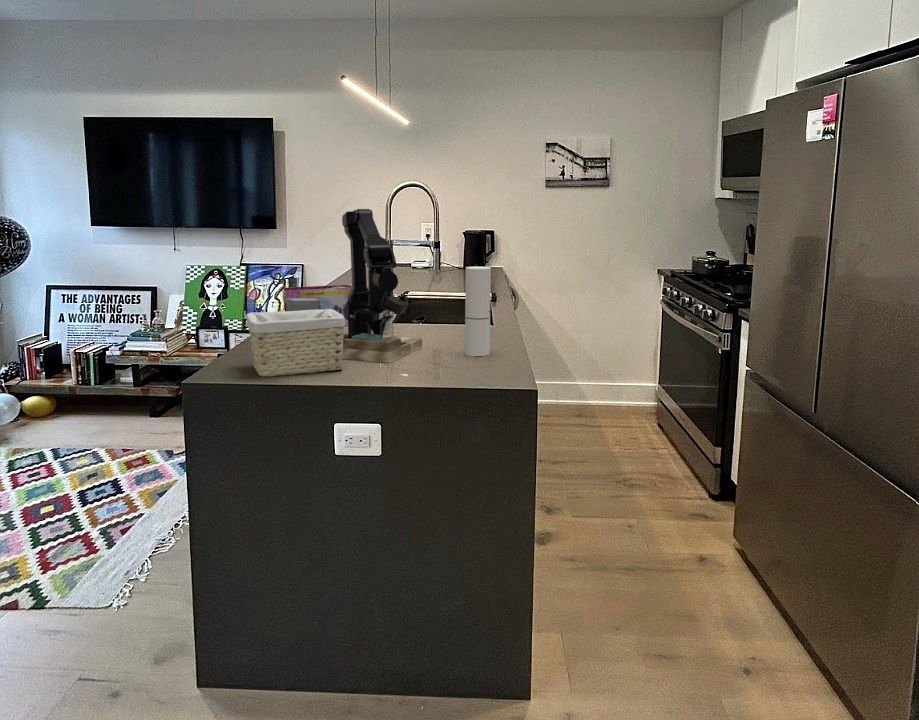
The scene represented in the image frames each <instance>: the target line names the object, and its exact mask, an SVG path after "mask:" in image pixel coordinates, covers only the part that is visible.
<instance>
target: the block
mask: <svg viewBox="0 0 919 720" xmlns="http://www.w3.org/2000/svg"><path fill="white" fill-rule="evenodd" d="M352 339H354V340H366V341H378V342H381V335H377V334H373V333H371V334H367V333H362V334H359V335H355V336H352Z"/></svg>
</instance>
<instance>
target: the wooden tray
mask: <svg viewBox="0 0 919 720" xmlns="http://www.w3.org/2000/svg"><path fill="white" fill-rule="evenodd" d="M343 336H344V338H343V360H344V359H345V360H353V361H364V362H372V363H373V362H374V363H375V362H376V363H385V364H386V363H387V364H391V363H393V362H395V361H398V360H399V359H401V358H404V357H406V356H408V355H411V354H413V353H415V352H417V351H419V350H421V349H423V338H420V337H419V338H418V337H409V336H408V337H406V336H395V335H394V336H392V335H384V334H383V336H382V340H381V342H378V341H366V340H354V339H349V338H348V333H344V334H343Z"/></svg>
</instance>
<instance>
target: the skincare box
mask: <svg viewBox="0 0 919 720" xmlns="http://www.w3.org/2000/svg"><path fill="white" fill-rule="evenodd" d="M286 307H287V311H302V310H319V300H317V299H314V298H291V299H286Z"/></svg>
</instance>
